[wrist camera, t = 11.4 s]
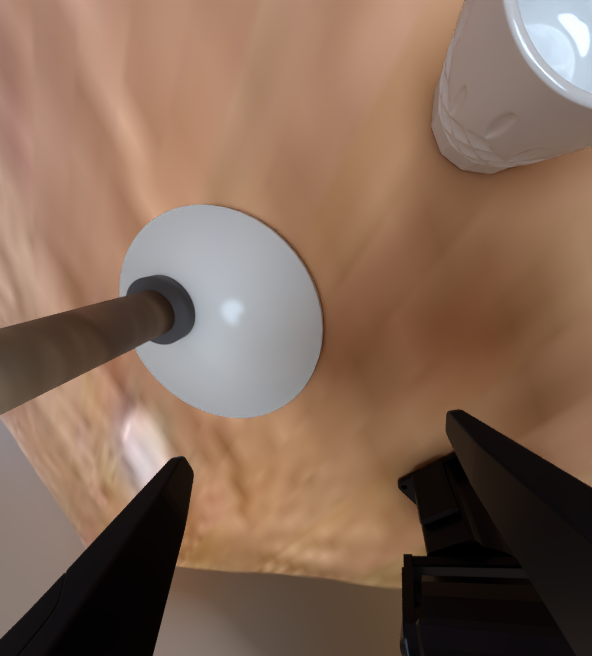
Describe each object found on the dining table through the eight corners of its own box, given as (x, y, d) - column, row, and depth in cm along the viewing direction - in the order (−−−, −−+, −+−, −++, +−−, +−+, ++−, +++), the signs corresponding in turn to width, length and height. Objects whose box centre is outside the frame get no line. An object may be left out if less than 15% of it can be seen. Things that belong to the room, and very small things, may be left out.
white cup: (428, 205, 16) (510, 168, 7) (408, 47, 14) (488, -313, 5) (597, 155, 13) (1092, -12, 4) (604, -48, 11) (1615, -1238, 2)
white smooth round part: (374, 328, 19) (374, 333, 18) (236, 441, 27) (232, 448, 26) (192, 146, 18) (183, 142, 17) (101, 317, 25) (91, 320, 25)
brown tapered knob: (207, 309, 21) (0, 408, 9) (175, 351, 23) (-24, 473, 11) (155, 259, 21) (-129, 296, 9) (127, 307, 23) (-128, 386, 11)
